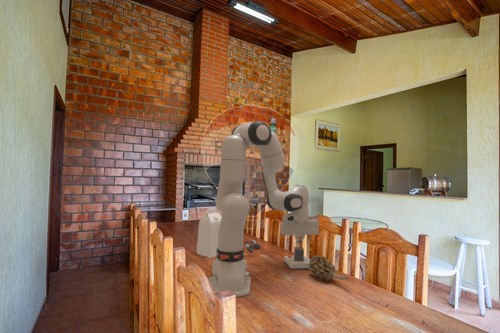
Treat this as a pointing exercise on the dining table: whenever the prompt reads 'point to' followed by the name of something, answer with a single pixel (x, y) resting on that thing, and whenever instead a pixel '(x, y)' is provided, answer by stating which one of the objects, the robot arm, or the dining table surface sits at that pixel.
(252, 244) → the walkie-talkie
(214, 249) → the milk
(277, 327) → the dining table surface
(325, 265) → the pine cone
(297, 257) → the plug
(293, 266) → the socket
